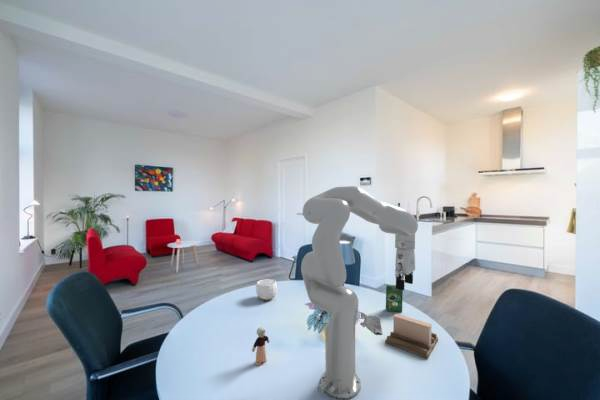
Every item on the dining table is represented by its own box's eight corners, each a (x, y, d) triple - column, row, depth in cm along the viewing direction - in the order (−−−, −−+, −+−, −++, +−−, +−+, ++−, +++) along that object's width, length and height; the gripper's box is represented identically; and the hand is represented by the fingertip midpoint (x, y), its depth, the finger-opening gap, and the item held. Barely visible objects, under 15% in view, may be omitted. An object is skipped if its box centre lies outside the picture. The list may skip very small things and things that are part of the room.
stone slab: (357, 311, 130) (378, 312, 128) (358, 315, 130) (378, 315, 128) (359, 332, 112) (383, 332, 110) (360, 336, 112) (383, 336, 110)
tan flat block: (429, 347, 99) (429, 327, 99) (393, 334, 109) (393, 315, 108) (431, 343, 102) (431, 324, 101) (396, 331, 111) (396, 313, 111)
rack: (427, 359, 94) (427, 352, 94) (385, 342, 104) (385, 336, 104) (438, 339, 106) (438, 334, 106) (399, 327, 116) (399, 321, 116)
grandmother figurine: (258, 369, 89) (258, 333, 89) (250, 365, 91) (250, 330, 91) (272, 357, 96) (272, 323, 96) (264, 353, 98) (264, 321, 98)
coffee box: (401, 309, 134) (401, 284, 133) (402, 312, 131) (402, 286, 130) (385, 308, 135) (385, 284, 135) (386, 311, 132) (386, 286, 132)
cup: (276, 302, 144) (276, 285, 144) (254, 303, 144) (254, 286, 144) (278, 294, 156) (278, 278, 156) (258, 294, 156) (258, 278, 156)
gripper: (406, 249, 96) (406, 294, 96) (421, 242, 108) (420, 283, 109) (387, 246, 101) (386, 289, 101) (403, 240, 113) (403, 279, 114)
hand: (404, 286), depth 105 cm, fingers open, 9 cm apart
